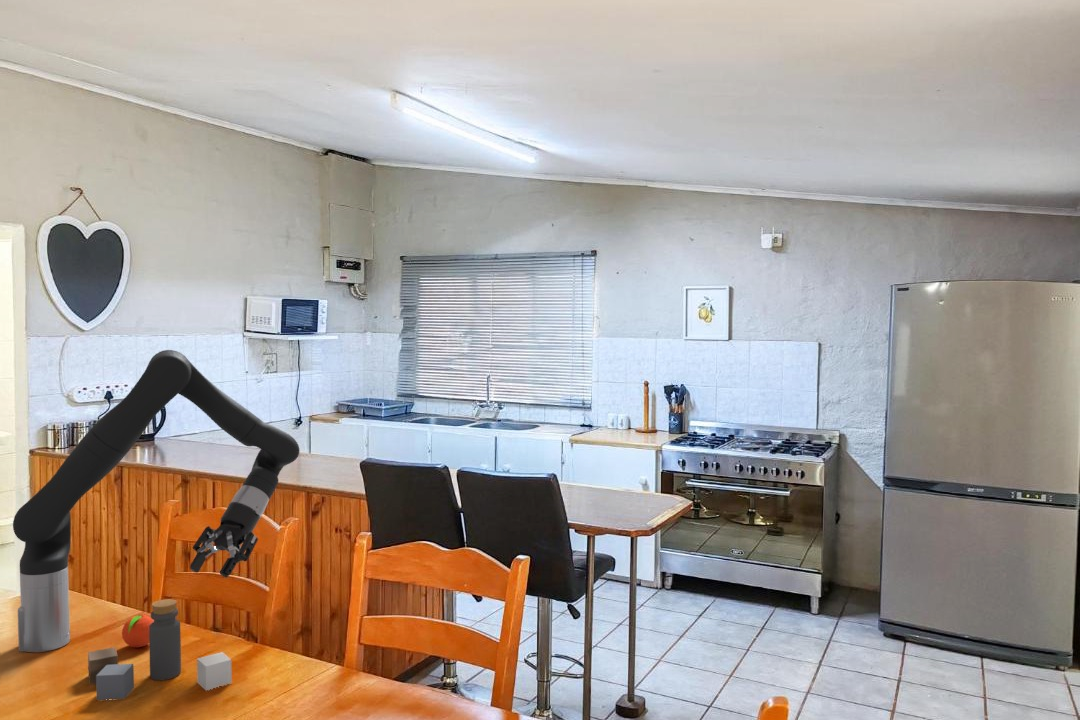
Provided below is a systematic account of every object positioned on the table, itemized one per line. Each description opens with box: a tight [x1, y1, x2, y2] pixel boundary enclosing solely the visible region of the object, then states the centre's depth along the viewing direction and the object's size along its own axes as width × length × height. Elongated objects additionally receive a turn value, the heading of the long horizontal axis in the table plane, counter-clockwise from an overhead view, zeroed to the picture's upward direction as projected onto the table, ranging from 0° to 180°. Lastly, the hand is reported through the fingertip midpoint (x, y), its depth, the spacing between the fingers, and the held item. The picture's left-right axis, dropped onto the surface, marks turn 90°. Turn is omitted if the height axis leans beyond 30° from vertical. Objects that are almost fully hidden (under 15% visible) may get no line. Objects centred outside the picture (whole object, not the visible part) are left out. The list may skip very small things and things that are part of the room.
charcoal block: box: [95, 663, 135, 701], centre depth 160 cm, size 5×5×5 cm
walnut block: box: [87, 646, 119, 686], centre depth 168 cm, size 5×5×5 cm
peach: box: [121, 614, 154, 648], centre depth 183 cm, size 8×7×7 cm
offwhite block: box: [196, 651, 232, 692], centre depth 165 cm, size 5×5×5 cm
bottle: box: [148, 598, 182, 681], centre depth 169 cm, size 6×6×15 cm
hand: (208, 573), depth 179 cm, fingers open, 8 cm apart
